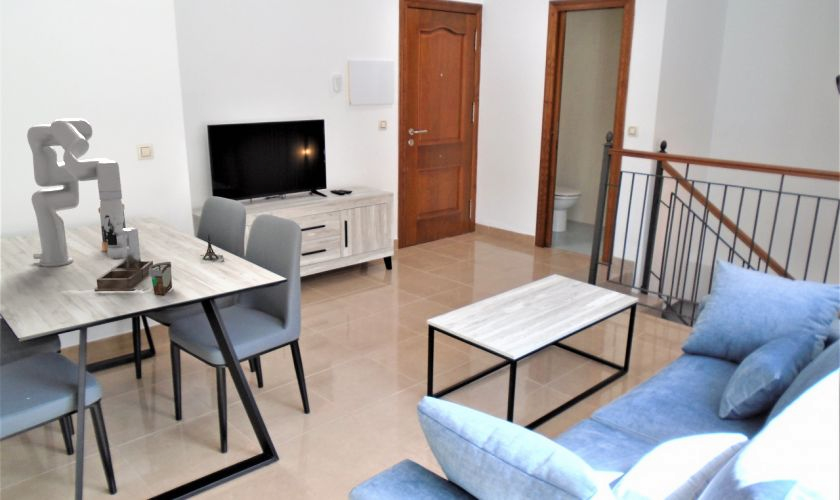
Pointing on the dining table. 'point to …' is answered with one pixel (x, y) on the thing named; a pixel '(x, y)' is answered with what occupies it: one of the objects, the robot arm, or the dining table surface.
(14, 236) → the dining table surface
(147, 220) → the dining table surface
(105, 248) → the whiskey bottle
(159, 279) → the food container
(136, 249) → the grey metal canister
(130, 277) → the wooden compartment tray
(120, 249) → the plastic bottle
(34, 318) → the dining table surface
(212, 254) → the eiffel tower figurine
